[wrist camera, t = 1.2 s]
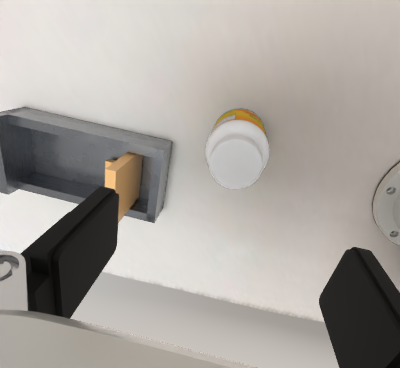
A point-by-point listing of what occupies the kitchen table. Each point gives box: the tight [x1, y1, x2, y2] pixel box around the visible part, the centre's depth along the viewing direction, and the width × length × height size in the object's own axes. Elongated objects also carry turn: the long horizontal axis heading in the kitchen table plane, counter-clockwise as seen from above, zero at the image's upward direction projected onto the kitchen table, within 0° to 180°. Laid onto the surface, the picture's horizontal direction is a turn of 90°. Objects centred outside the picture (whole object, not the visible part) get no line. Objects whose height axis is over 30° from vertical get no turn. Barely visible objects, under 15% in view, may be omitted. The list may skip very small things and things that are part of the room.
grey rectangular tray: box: [0, 107, 172, 223], centre depth 29 cm, size 18×9×5 cm, turn 79°
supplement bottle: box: [205, 109, 269, 189], centre depth 23 cm, size 5×5×10 cm
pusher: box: [105, 152, 143, 223], centre depth 28 cm, size 4×6×7 cm, turn 169°
